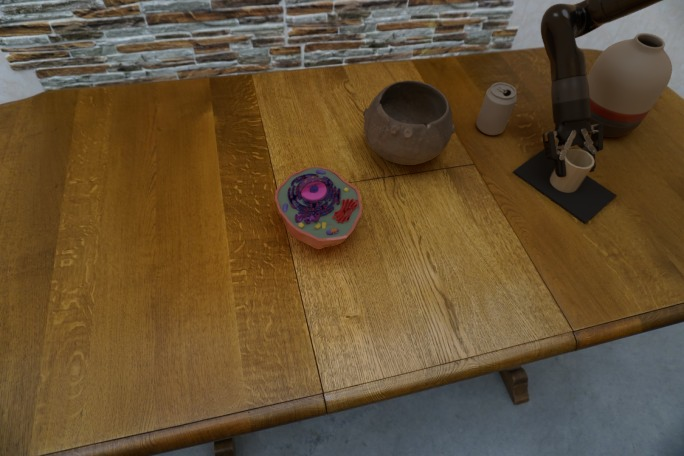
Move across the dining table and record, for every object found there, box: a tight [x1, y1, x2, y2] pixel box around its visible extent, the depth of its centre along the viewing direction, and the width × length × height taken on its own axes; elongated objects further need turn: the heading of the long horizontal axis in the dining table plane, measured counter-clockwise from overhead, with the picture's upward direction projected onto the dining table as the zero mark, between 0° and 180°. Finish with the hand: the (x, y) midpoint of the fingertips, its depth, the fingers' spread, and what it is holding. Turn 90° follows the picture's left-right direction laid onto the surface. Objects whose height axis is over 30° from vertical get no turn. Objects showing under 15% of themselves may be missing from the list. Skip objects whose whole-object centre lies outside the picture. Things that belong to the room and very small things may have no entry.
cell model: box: [274, 166, 363, 250], centre depth 95 cm, size 17×20×11 cm
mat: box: [512, 148, 618, 225], centre depth 109 cm, size 20×13×1 cm, turn 40°
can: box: [475, 81, 518, 136], centre depth 116 cm, size 8×8×12 cm
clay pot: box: [362, 79, 456, 166], centre depth 109 cm, size 21×21×15 cm
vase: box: [587, 32, 673, 138], centre depth 114 cm, size 17×17×24 cm
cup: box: [550, 147, 596, 193], centre depth 106 cm, size 7×7×8 cm
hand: (575, 174), depth 104 cm, fingers closed on cup, 6 cm apart
